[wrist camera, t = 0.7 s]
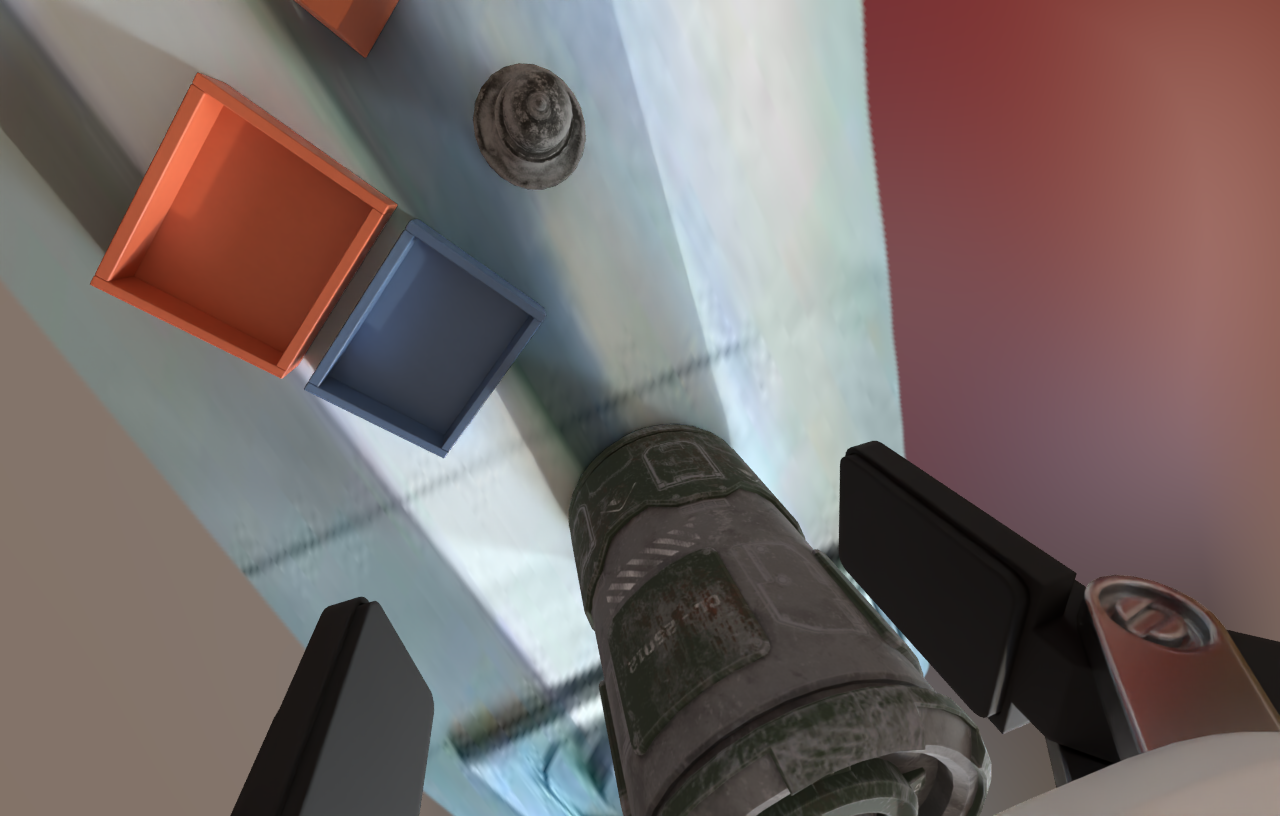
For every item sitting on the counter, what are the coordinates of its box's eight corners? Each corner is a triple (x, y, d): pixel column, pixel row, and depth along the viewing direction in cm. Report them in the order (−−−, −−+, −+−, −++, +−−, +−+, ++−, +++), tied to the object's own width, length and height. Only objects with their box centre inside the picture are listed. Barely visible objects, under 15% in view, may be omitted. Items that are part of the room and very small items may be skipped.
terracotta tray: (224, 82, 25) (196, 71, 22) (398, 204, 29) (388, 205, 26) (123, 276, 27) (88, 284, 25) (298, 365, 31) (281, 379, 28)
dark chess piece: (457, 144, 28) (426, 114, 17) (512, 52, 27) (515, -40, 16) (542, 210, 31) (561, 219, 20) (596, 128, 30) (646, 92, 19)
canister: (725, 391, 39) (1100, 731, 14) (753, 534, 46) (1037, 927, 22) (539, 458, 37) (601, 976, 13) (598, 596, 45) (712, 1100, 20)
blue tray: (417, 218, 29) (409, 220, 27) (544, 307, 33) (547, 315, 31) (317, 375, 31) (302, 389, 29) (448, 442, 35) (444, 459, 33)
